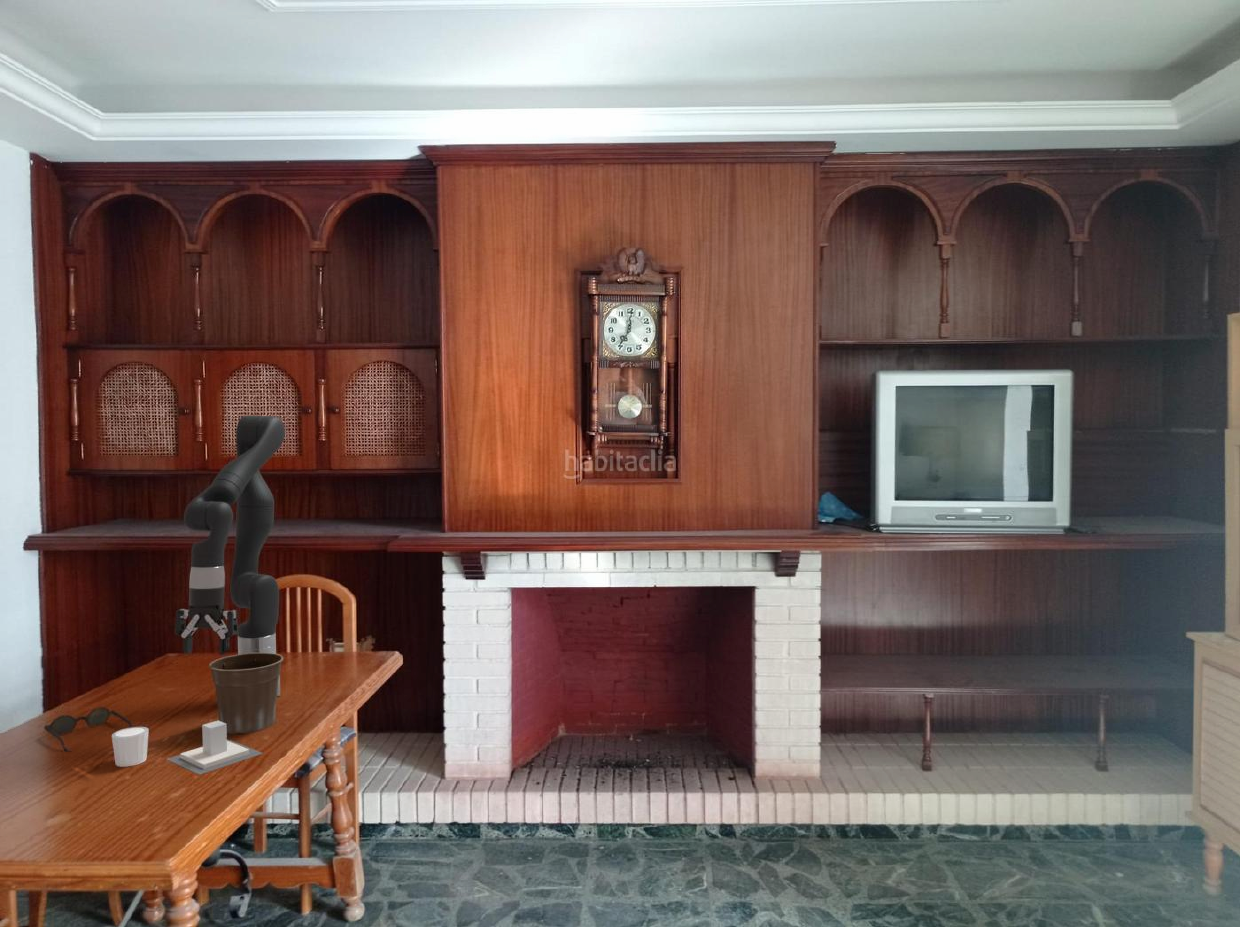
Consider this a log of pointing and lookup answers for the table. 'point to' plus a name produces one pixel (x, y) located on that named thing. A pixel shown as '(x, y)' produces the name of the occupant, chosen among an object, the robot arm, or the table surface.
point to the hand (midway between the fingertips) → (205, 653)
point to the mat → (200, 771)
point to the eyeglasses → (69, 723)
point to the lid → (214, 747)
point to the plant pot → (247, 690)
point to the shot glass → (130, 746)
